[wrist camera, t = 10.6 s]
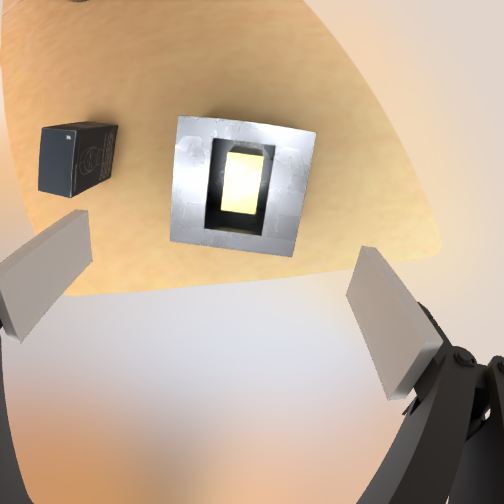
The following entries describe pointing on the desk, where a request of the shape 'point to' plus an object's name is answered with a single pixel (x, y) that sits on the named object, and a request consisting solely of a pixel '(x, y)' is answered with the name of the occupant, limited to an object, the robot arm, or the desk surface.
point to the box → (75, 157)
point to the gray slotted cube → (212, 184)
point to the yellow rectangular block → (242, 179)
